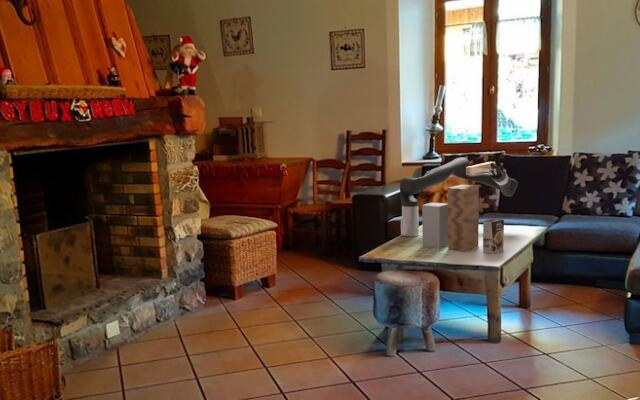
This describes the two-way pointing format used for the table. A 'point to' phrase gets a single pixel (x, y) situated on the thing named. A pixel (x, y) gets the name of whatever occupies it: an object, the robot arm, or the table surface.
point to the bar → (479, 168)
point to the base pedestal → (435, 224)
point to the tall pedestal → (463, 217)
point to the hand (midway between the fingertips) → (488, 163)
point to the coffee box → (493, 236)
